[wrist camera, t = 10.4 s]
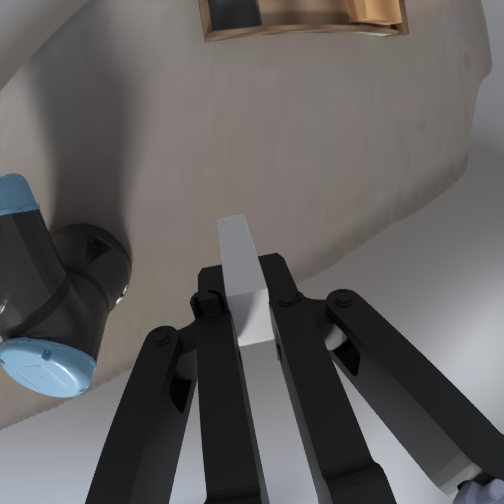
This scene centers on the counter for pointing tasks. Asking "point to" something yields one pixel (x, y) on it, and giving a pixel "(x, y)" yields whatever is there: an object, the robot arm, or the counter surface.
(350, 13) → the block
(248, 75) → the counter surface
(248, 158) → the counter surface
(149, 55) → the counter surface
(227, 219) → the robot arm
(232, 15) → the tray
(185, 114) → the counter surface
